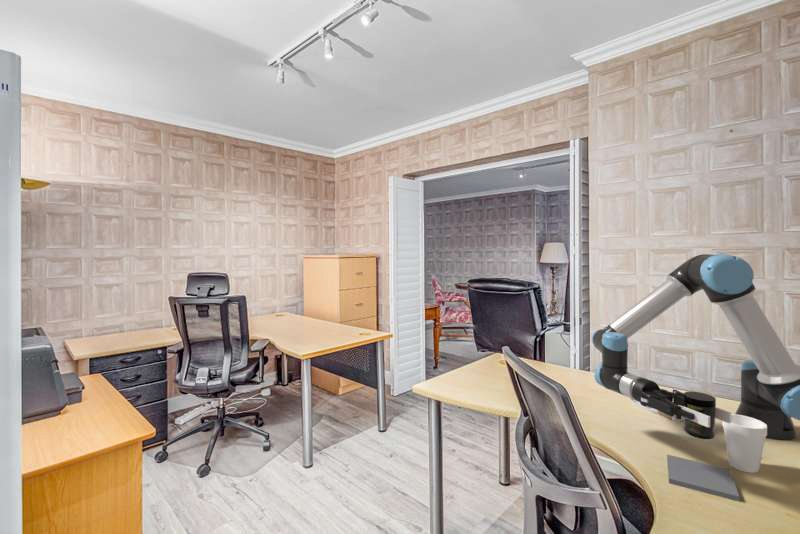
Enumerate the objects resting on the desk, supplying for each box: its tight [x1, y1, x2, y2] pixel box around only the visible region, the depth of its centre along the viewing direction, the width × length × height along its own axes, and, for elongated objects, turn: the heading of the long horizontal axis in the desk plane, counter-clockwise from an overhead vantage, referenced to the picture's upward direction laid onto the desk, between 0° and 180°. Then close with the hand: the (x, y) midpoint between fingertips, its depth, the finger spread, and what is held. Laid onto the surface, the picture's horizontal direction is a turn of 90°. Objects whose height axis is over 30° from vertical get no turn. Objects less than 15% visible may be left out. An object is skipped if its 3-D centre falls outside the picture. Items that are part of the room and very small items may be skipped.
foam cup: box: [721, 413, 767, 474], centre depth 107 cm, size 10×9×13 cm
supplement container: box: [683, 391, 717, 440], centre depth 102 cm, size 7×7×10 cm
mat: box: [666, 454, 740, 502], centre depth 102 cm, size 14×14×1 cm
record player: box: [631, 399, 684, 423], centre depth 146 cm, size 12×3×20 cm
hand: (719, 419), depth 97 cm, fingers closed on supplement container, 7 cm apart
